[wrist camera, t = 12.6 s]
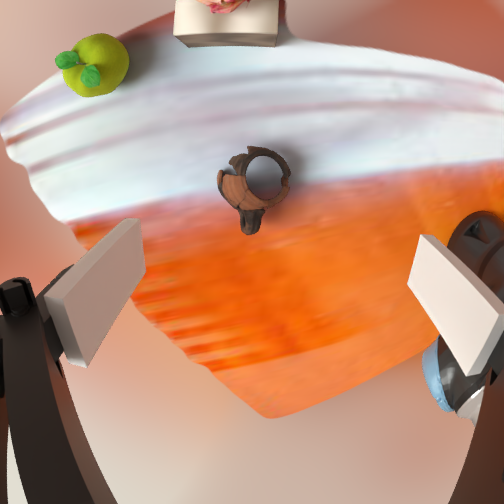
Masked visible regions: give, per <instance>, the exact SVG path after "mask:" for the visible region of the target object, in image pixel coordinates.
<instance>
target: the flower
mask: <svg viewBox="0 0 504 504" xmlns="http://www.w3.org/2000/svg"><path fill="white" fill-rule="evenodd" d="M196 1H198V2H201V3H203V4H206V6H209V7H210V12H211V14H212V13H230V12H233V11H234V10H235V9H236V8H237V7H238V6H239V5H240V4H242V3H243V2H244V1H247V2H248V4H249V2H250V1H251V0H196ZM248 4H247V6H248ZM246 8H247V7H246Z"/></svg>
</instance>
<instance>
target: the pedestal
mask: <svg viewBox="0 0 504 504" xmlns="http://www.w3.org/2000/svg"><path fill="white" fill-rule="evenodd" d="M247 4H248V2H247V1H244V2H243V3H242V4H240V5H239V6H238V7H237V8H236V9H235V10H234V11H233V12H230V13H212V14H211V12H210V7H209V6H206V4H203V3H201V2H198V1H196V0H176V7H175V18H174V31H173V35H174V36H175V37H176V38H178V39H179V40H180V41H181V42H183V43H184V44H185V45H186V46H187V47H207V46H259V47H275V44H276V39H277V33H278V7H279V0H251V1H250V2H249V4H248V6H247ZM246 7H247V8H246Z"/></svg>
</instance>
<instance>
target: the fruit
mask: <svg viewBox="0 0 504 504" xmlns="http://www.w3.org/2000/svg"><path fill="white" fill-rule="evenodd" d="M129 61H130V59H129V55H128V52H127V50H126V48H125V47H124V45H123V44H122V43H121V42H120V41H118V40H117V39H116V38H114V37H112V36H110V35H108V34H102V33H101V34H94V35H91V36H89V37H86V38H84V39H82V40H80V41H79V42H78V43H77V44H76V45H75V46H74V47H73V49H72V50H71V51H66V52H62V53H60V54H59V55H58V56H57V57H56V58H55V62H56V65H57V66H58V67H59V68H60V69H63V77H64V80H65V82H66V84H67V85H68V86H69V87H70V88H71V89H72V90H73V91H75V92H76V93H77V94H79V95H80V96H82V97H94V96H99V95H104V94H108V93H110V92H112V91H114V90H115V89H116V88H117V87H118V85H119V84H120V83H121V81H122V80H123V78H124V77H125V75H126V73H127V70H128V67H129Z"/></svg>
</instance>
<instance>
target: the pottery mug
mask: <svg viewBox="0 0 504 504" xmlns="http://www.w3.org/2000/svg"><path fill="white" fill-rule="evenodd" d="M247 148H248V154H244V153H243V154H239V155H237V156H233V157H232V158H231V159H230V161H229V164H230V165H232V166H233V168H234V169H235V171H236V173H237V175H229V174H225V175H224V177H223V182H222V175H223V170H219V172H218V176H217V184H218V189H219V191H220V193H221V195H222V196H223V197H224V198H225V199H226V200H227V202H228V203H229V204H230V205H231V206H232V207H233V208H234V209H237V210H238V212H239V214H240V225H241V230H242V232H243V233H245V234H246V235H252V234H255V233H257V232H258V231H259V229H260V225H261V218H262V216H263V214H264V213H265V210H264V209H263V208H264V207H267V208H271V207H272V206H274V205H275V204H277V203H279V202H280V201H282V200H283V199H284V198H285V196H286V195H287V193H288V191H289V189H290V187H288V177H289V176H290V175H291V172H290V169H289V167H288V165H287V163H286V161H285V160H284V158H282V157H281V156H280V155H278V154H277V153H276V152H274V151H271V150H269V149H267V148H262V147H254V146H247ZM258 156H268V157H271V158H273V159H274V160H275V161H276V162H277V163H278V164H279V166H280V167H281V169H282V172H283V176H282V178H281V184H282V189H281V191H280V193H279V194H278V195H277V196H276V197H274V198H272V199H268V200H264V199H260V198H258V197H257V196H255V195H254V194H253V193H252V192H251V190H250V189H249V187H248V185H247V181H246V175H245V174H246V170H247V167H248V165H249V163H250V162H251V161H252V160H253V159H254V158H255V157H258Z"/></svg>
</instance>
